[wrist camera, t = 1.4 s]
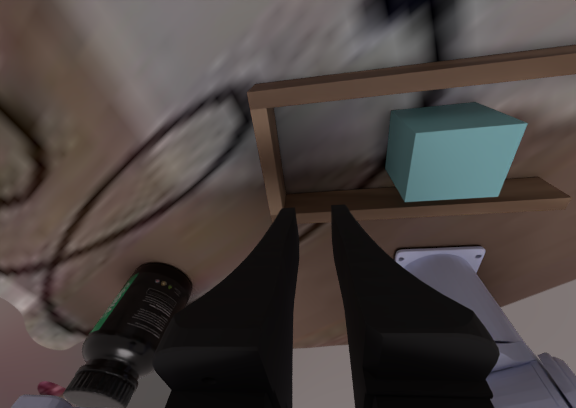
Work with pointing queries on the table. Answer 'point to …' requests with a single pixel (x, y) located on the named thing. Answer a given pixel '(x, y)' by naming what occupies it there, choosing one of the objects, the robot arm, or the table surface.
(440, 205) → the channel
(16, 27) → the table surface
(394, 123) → the block
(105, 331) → the supplement bottle
